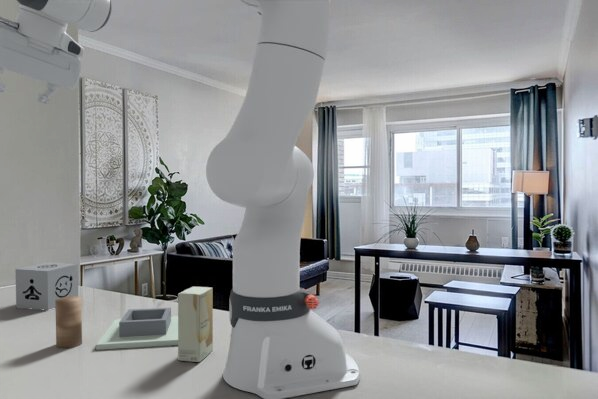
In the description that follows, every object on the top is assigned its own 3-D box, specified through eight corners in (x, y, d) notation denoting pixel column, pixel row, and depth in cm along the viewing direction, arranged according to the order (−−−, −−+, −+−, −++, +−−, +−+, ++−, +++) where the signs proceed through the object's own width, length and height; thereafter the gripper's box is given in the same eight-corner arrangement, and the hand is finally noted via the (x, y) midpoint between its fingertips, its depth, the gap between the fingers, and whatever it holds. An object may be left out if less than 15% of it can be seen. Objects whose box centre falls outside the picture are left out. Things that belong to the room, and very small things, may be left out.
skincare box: (199, 363, 77) (199, 294, 77) (177, 361, 78) (176, 293, 78) (214, 349, 84) (213, 286, 83) (192, 348, 85) (192, 285, 84)
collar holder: (188, 319, 102) (188, 302, 102) (182, 344, 86) (182, 324, 86) (115, 323, 99) (115, 305, 99) (95, 349, 84) (95, 329, 83)
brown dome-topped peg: (84, 339, 89) (84, 295, 89) (77, 347, 85) (77, 301, 84) (61, 341, 88) (60, 296, 88) (52, 349, 84) (51, 302, 84)
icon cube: (48, 298, 121) (47, 262, 121) (78, 300, 119) (77, 264, 118) (16, 307, 112) (15, 269, 111) (48, 311, 109) (47, 271, 109)
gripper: (-6, 12, 79) (-27, 86, 80) (91, 53, 97) (73, 112, 99) (-25, 6, 82) (-44, 78, 83) (74, 47, 100) (56, 105, 101)
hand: (20, 97), depth 91 cm, fingers open, 8 cm apart
